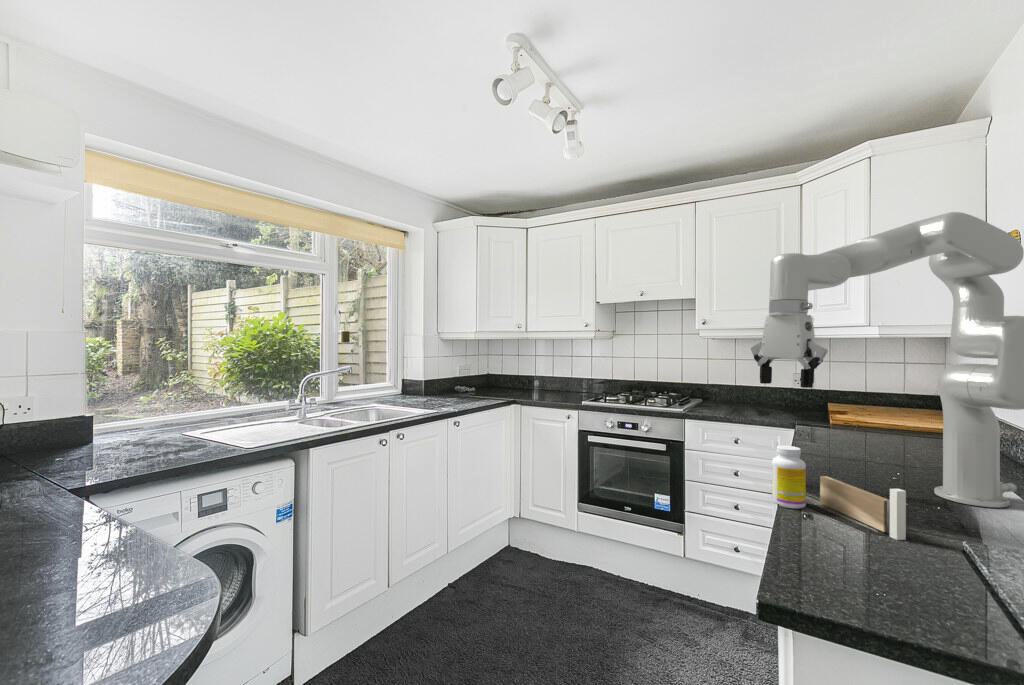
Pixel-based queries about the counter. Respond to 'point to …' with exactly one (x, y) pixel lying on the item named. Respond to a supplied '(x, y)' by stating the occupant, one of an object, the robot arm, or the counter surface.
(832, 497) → the wooden plank
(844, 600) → the counter surface
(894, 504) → the gate post
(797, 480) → the supplement bottle
